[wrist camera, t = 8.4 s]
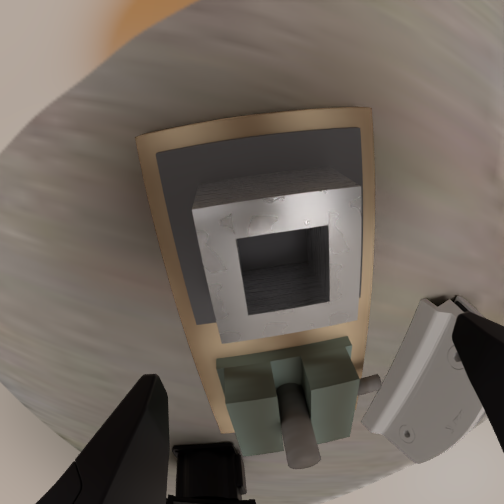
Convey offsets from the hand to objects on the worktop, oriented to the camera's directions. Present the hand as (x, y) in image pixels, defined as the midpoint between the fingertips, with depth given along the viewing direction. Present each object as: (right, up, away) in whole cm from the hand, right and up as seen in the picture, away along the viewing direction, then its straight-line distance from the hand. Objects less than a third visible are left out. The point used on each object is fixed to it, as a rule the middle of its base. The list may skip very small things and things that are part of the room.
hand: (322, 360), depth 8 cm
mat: (-1, +4, +9) cm, 10 cm away
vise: (0, 0, +13) cm, 13 cm away
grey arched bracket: (+14, -8, +19) cm, 25 cm away
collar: (-1, +4, +8) cm, 9 cm away
